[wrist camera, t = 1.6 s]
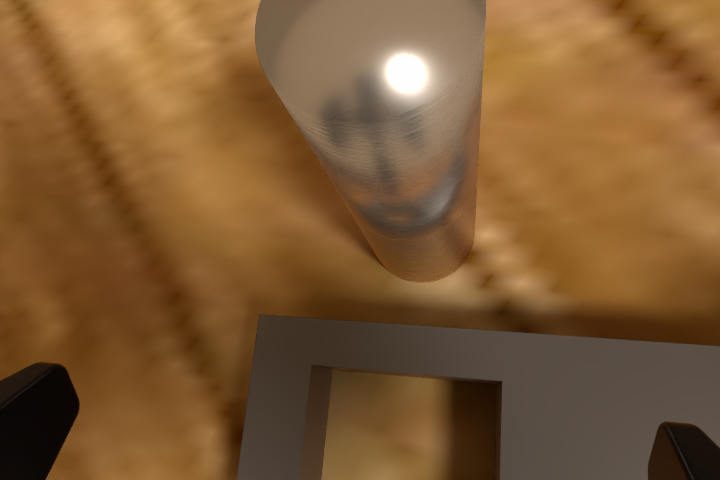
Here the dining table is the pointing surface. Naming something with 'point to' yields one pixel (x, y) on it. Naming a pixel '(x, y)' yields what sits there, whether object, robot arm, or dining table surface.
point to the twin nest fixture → (484, 365)
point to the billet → (388, 115)
